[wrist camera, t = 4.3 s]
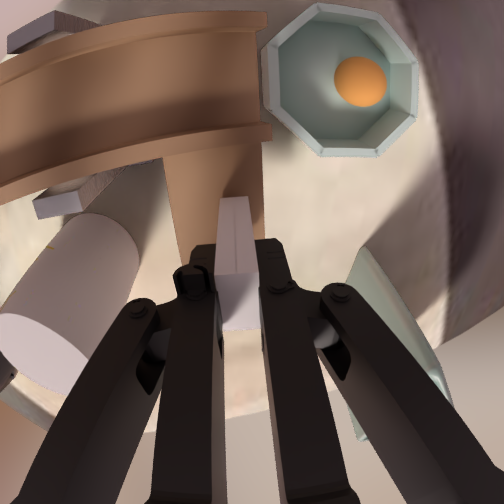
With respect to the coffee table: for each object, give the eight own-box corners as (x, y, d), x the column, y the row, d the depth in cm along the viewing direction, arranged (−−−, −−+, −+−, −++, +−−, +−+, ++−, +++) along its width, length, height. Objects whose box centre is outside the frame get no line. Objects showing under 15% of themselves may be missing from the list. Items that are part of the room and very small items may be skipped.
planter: (290, 286, 27) (345, 507, 10) (365, 244, 25) (481, 446, 8) (346, 362, 35) (388, 500, 18) (400, 334, 33) (460, 467, 16)
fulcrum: (94, 170, 19) (26, 231, 11) (77, 43, 14) (-8, 37, 6) (154, 160, 20) (106, 218, 12) (140, 24, 14) (76, -9, 6)
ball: (345, 107, 15) (395, 112, 15) (344, 51, 13) (396, 59, 13) (327, 102, 18) (372, 106, 18) (326, 55, 16) (372, 61, 16)
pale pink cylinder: (60, 203, 20) (-22, 294, 10) (146, 227, 22) (97, 343, 12) (60, 276, 24) (9, 372, 14) (134, 299, 26) (103, 408, 16)
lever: (-14, 313, 13) (-25, 341, 11) (-81, 127, 6) (-107, 137, 4) (260, 245, 19) (279, 269, 16) (249, 21, 11) (272, 9, 9)
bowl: (264, 146, 20) (271, 158, 17) (258, 12, 14) (264, -1, 11) (389, 147, 20) (413, 159, 17) (391, 27, 15) (417, 23, 12)
